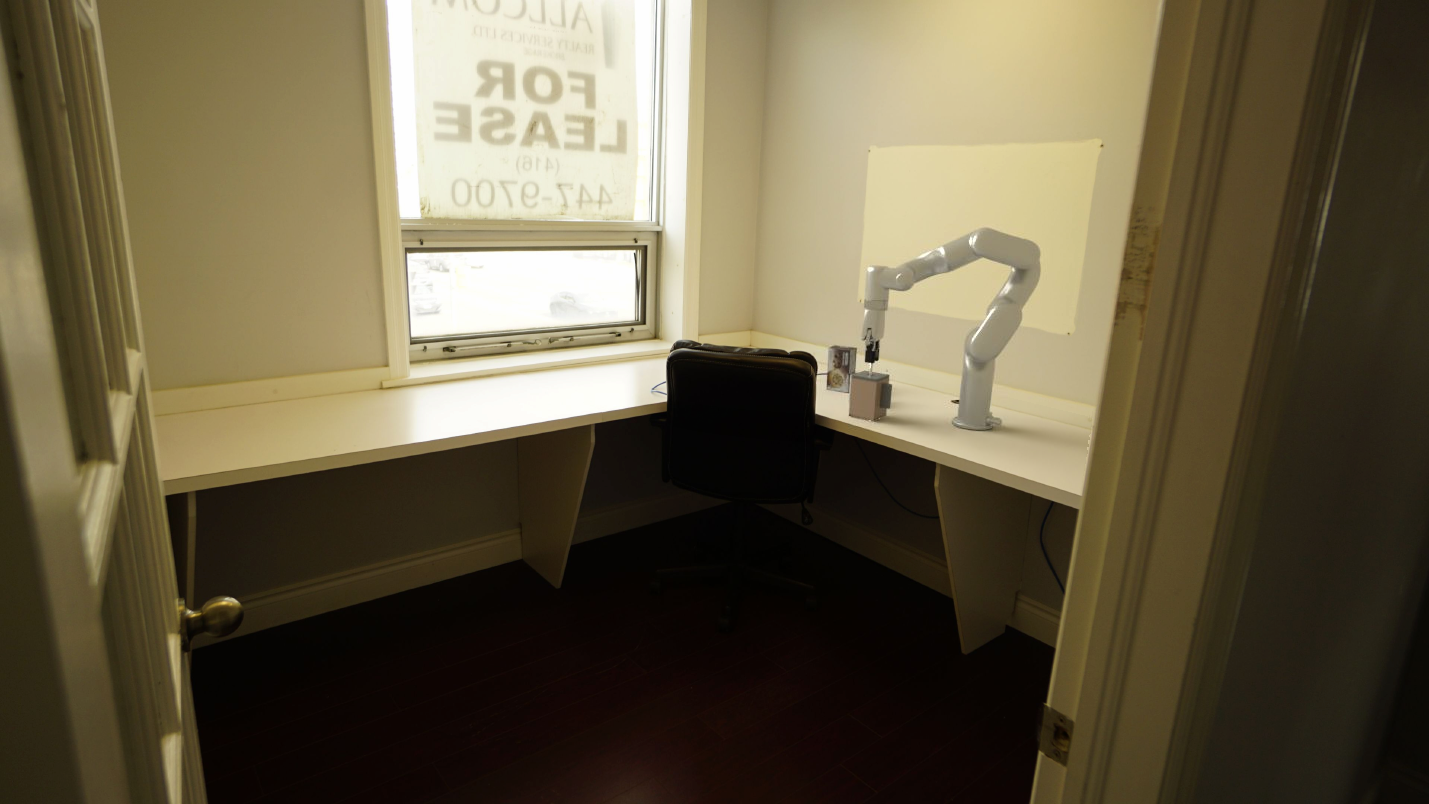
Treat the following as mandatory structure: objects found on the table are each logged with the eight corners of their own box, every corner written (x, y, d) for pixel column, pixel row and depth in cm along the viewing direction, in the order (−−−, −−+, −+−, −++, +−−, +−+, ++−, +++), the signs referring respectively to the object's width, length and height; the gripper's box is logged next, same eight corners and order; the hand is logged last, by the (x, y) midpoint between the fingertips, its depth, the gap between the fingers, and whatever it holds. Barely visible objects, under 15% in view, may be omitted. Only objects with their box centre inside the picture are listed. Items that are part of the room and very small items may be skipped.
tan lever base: (894, 417, 254) (897, 376, 250) (881, 423, 247) (885, 380, 243) (861, 410, 261) (864, 370, 257) (848, 416, 254) (851, 374, 250)
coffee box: (854, 389, 290) (857, 347, 286) (848, 393, 284) (851, 350, 280) (832, 386, 294) (835, 344, 290) (825, 389, 289) (827, 347, 285)
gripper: (872, 301, 254) (868, 356, 259) (856, 307, 240) (852, 364, 245) (894, 303, 251) (890, 358, 255) (879, 309, 237) (875, 367, 241)
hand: (871, 361), depth 250 cm, fingers closed on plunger, 3 cm apart
